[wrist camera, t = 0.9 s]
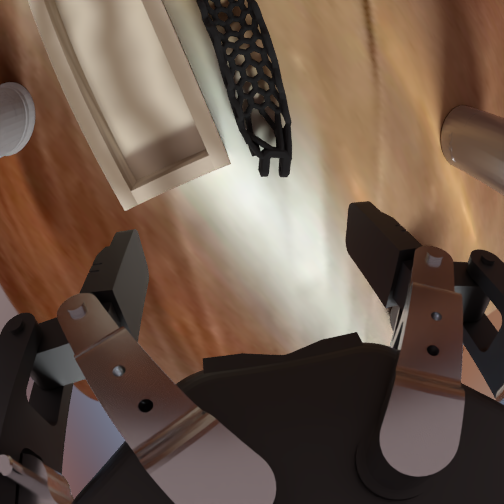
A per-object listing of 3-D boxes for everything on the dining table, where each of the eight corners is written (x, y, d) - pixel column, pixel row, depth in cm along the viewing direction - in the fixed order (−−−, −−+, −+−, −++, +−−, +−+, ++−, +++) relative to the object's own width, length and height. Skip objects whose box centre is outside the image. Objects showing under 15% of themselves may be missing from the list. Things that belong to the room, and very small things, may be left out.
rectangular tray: (135, -59, 16) (127, -76, 13) (226, 152, 31) (230, 163, 27) (42, -7, 17) (23, -15, 13) (133, 193, 32) (125, 210, 28)
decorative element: (184, -16, 21) (181, -34, 16) (234, -30, 21) (241, -49, 16) (252, 174, 33) (262, 194, 28) (296, 159, 33) (313, 177, 28)
